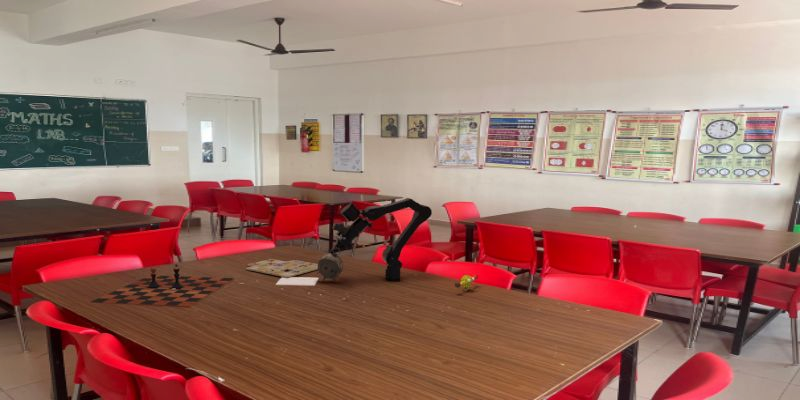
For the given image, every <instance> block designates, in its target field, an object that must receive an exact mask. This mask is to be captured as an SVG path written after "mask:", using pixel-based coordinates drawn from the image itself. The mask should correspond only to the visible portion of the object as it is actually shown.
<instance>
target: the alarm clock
mask: <svg viewBox="0 0 800 400" xmlns="http://www.w3.org/2000/svg"><path fill="white" fill-rule="evenodd" d="M336 248H337V247H336ZM334 249H335V248H334ZM334 249H333V250H334ZM338 249H339V248H338ZM340 253H341V251H340V249H339V251H338V253H337V252H336V253H334V251H333V254H331V253H330V252H329V253H326V254H324V255H323V256H322V257H321V258H320V259H319V261H317V262H318V263H317V264H318V270H317V271H318V272H316V273H317V275H319V274H320V275H321V276H322V277H323V278H322V280H323V281H325V280H326V279H328V280H333V282H334V283H335V282H336V278H338V277H339V276H340V275H341V273H343V270H344V262H343V260H342V258H341V257H340V256H339V254H340Z"/></svg>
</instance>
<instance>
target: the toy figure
mask: <svg viewBox="0 0 800 400" xmlns="http://www.w3.org/2000/svg"><path fill="white" fill-rule="evenodd" d="M478 280H479V275H477V274H474V275H472V276H471V275H469V274H466V275H463V276H462V277H461V280H460V282H459V281H456V282H454V287H455V288H457V289H459V288H460V287H461V286H463V287H464V292H469V291H470V289H469V288H470V287H472V286H473V285H474V281H478Z"/></svg>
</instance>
